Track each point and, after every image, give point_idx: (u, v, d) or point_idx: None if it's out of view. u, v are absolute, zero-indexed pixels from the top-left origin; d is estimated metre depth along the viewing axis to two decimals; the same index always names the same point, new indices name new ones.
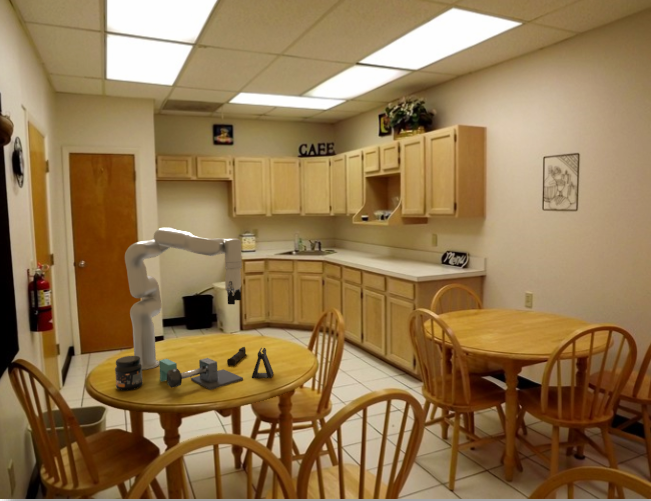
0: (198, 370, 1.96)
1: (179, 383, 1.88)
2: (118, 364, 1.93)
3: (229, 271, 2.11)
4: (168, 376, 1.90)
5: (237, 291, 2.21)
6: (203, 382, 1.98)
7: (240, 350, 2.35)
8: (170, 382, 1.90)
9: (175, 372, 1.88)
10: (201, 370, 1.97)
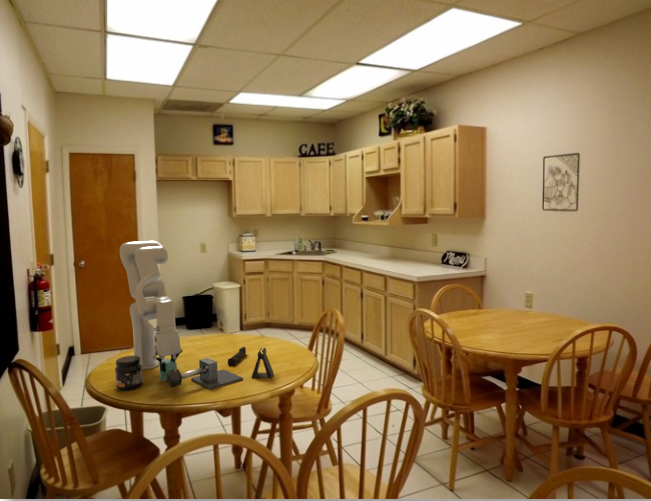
0: (198, 370, 1.96)
1: (179, 383, 1.88)
2: (118, 364, 1.93)
3: None
4: (168, 376, 1.90)
5: None
6: (203, 382, 1.98)
7: (240, 350, 2.35)
8: (170, 382, 1.90)
9: (175, 372, 1.88)
10: (201, 370, 1.97)
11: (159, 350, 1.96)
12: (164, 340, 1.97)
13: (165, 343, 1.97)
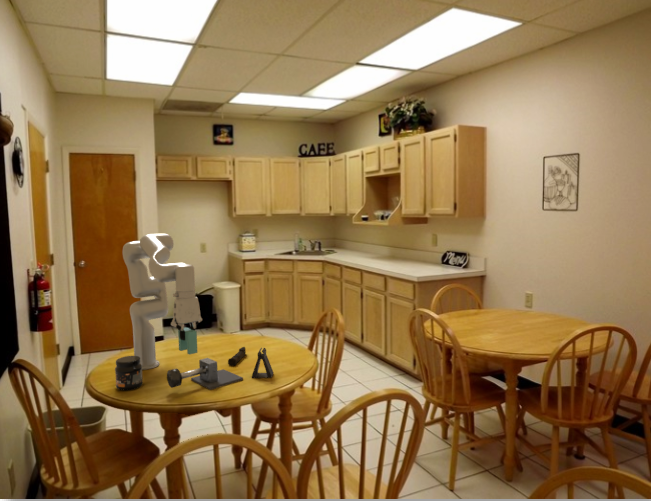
0: (198, 370, 1.96)
1: (179, 383, 1.88)
2: (118, 364, 1.93)
3: None
4: (168, 376, 1.90)
5: None
6: (203, 382, 1.98)
7: (240, 350, 2.35)
8: (170, 382, 1.90)
9: (175, 372, 1.88)
10: (201, 370, 1.97)
11: (179, 317, 1.87)
12: (184, 307, 1.89)
13: (185, 310, 1.89)
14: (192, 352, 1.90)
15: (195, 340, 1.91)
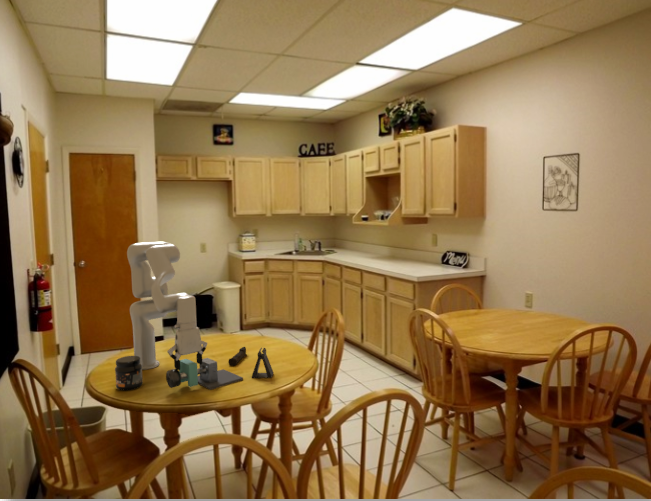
0: (197, 370, 1.96)
1: (178, 383, 1.88)
2: (118, 364, 1.93)
3: None
4: (167, 376, 1.90)
5: None
6: (203, 382, 1.98)
7: (241, 350, 2.35)
8: (169, 382, 1.89)
9: (174, 373, 1.88)
10: (200, 370, 1.97)
11: (180, 348, 1.88)
12: (185, 338, 1.90)
13: (186, 341, 1.90)
14: (193, 384, 1.91)
15: (195, 372, 1.91)
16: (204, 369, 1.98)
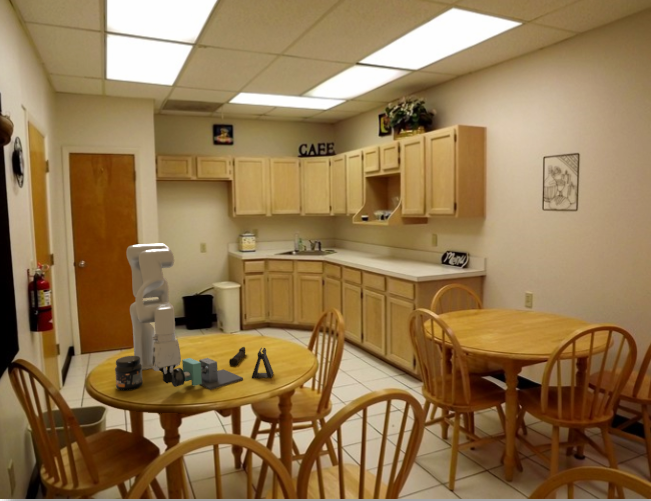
0: (201, 369, 1.97)
1: (182, 382, 1.89)
2: (118, 364, 1.93)
3: None
4: None
5: None
6: (203, 382, 1.98)
7: (240, 350, 2.35)
8: (173, 381, 1.90)
9: (178, 372, 1.89)
10: (204, 369, 1.98)
11: (158, 361, 1.82)
12: (163, 350, 1.83)
13: (164, 353, 1.84)
14: (196, 383, 1.92)
15: (199, 371, 1.93)
16: None
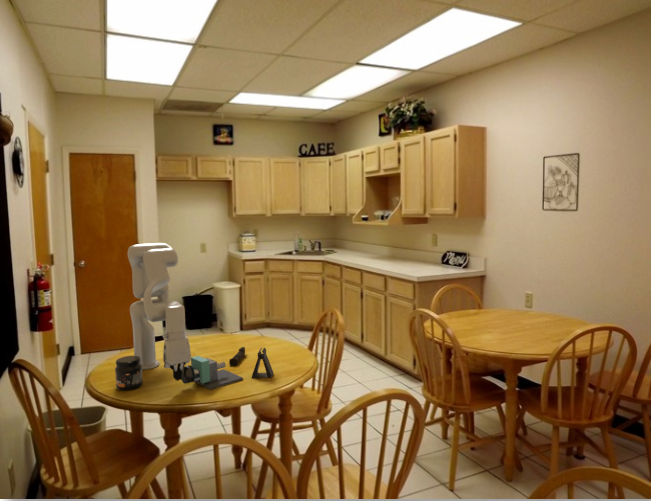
0: None
1: (192, 379, 1.92)
2: (118, 364, 1.93)
3: None
4: None
5: None
6: None
7: (240, 350, 2.35)
8: (183, 378, 1.93)
9: (188, 369, 1.92)
10: None
11: (168, 358, 1.85)
12: (174, 348, 1.86)
13: (175, 351, 1.87)
14: (205, 381, 1.95)
15: (208, 369, 1.95)
16: (217, 366, 2.02)
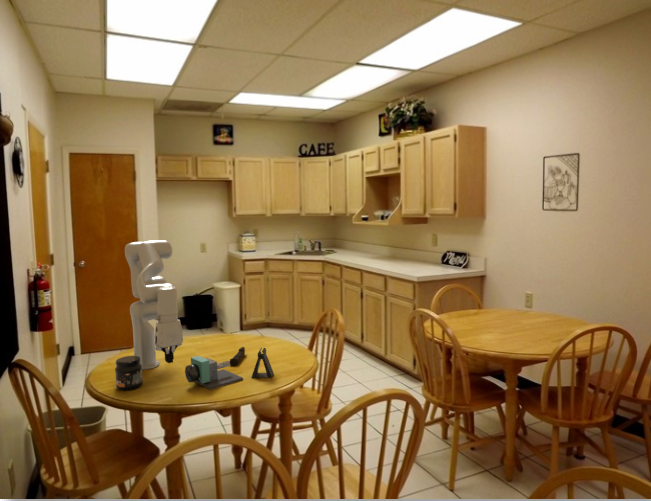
0: None
1: (197, 378, 1.94)
2: (118, 364, 1.93)
3: None
4: (186, 371, 1.96)
5: None
6: None
7: (240, 350, 2.35)
8: (188, 377, 1.95)
9: (193, 368, 1.93)
10: (218, 365, 2.03)
11: (160, 341, 1.83)
12: (166, 331, 1.84)
13: (166, 333, 1.84)
14: (205, 381, 1.95)
15: (208, 369, 1.95)
16: (221, 364, 2.04)
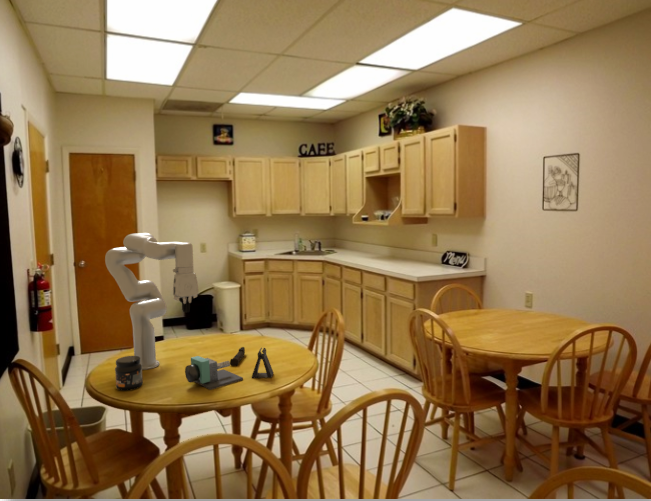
0: None
1: (197, 378, 1.94)
2: (118, 364, 1.93)
3: None
4: (186, 371, 1.96)
5: None
6: None
7: (240, 350, 2.35)
8: (188, 377, 1.95)
9: (193, 368, 1.93)
10: (218, 365, 2.03)
11: (178, 290, 2.02)
12: (183, 282, 2.03)
13: (184, 284, 2.03)
14: (205, 381, 1.95)
15: (208, 369, 1.95)
16: (221, 364, 2.04)
